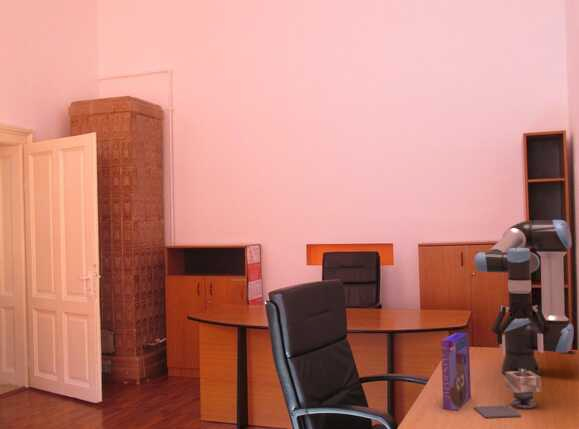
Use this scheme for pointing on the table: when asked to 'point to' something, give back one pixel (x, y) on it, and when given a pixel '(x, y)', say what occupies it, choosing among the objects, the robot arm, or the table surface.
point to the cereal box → (455, 371)
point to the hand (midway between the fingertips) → (521, 352)
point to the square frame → (523, 382)
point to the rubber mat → (497, 411)
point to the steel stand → (523, 396)
